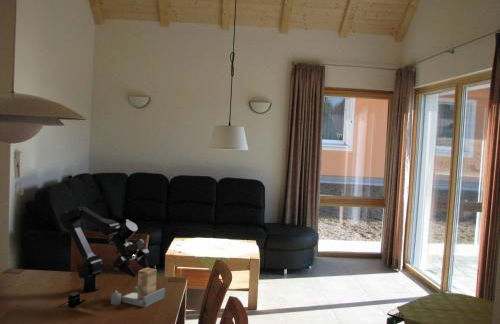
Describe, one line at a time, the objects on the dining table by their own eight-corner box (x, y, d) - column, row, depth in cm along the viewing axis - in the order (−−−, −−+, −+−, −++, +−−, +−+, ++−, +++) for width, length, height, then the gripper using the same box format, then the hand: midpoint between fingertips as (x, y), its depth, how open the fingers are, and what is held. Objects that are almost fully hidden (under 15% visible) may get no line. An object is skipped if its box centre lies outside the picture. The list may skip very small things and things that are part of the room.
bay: (106, 305, 190) (107, 291, 189) (135, 293, 206) (136, 279, 206) (137, 313, 183) (137, 298, 183) (164, 299, 200) (165, 285, 199)
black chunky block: (73, 310, 184) (73, 299, 184) (56, 308, 186) (57, 297, 186) (89, 300, 197) (89, 290, 196) (74, 298, 198) (74, 288, 198)
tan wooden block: (137, 301, 193) (138, 270, 193) (146, 296, 199) (147, 267, 198) (147, 303, 191) (147, 272, 191) (155, 298, 197) (156, 269, 196)
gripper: (118, 237, 189) (138, 267, 185) (146, 230, 206) (165, 257, 202) (103, 254, 193) (123, 283, 188) (132, 245, 210) (151, 272, 205)
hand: (141, 273), depth 196 cm, fingers open, 9 cm apart
